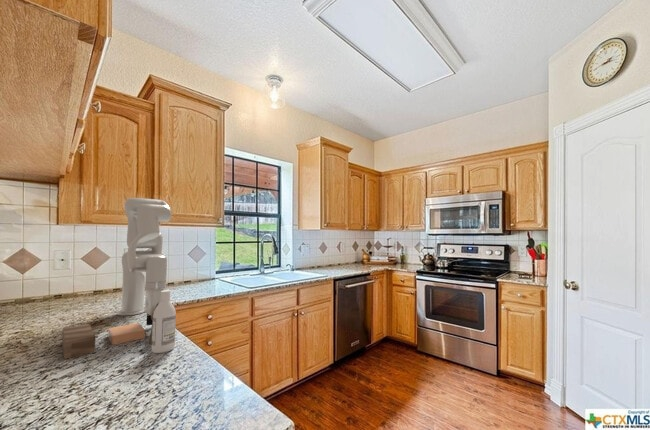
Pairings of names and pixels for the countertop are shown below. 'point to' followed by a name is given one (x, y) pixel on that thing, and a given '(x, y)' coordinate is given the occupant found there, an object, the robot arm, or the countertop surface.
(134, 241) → the robot arm
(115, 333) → the tile
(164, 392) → the countertop surface
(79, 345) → the shelf
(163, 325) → the bath foam
